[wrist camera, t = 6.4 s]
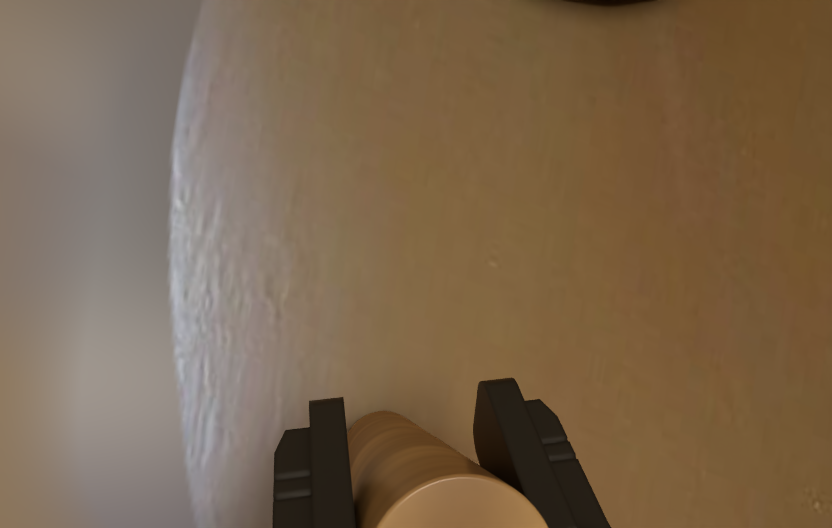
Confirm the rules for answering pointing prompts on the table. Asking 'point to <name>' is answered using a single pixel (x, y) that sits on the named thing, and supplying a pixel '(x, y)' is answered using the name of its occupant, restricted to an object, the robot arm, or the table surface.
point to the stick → (425, 482)
